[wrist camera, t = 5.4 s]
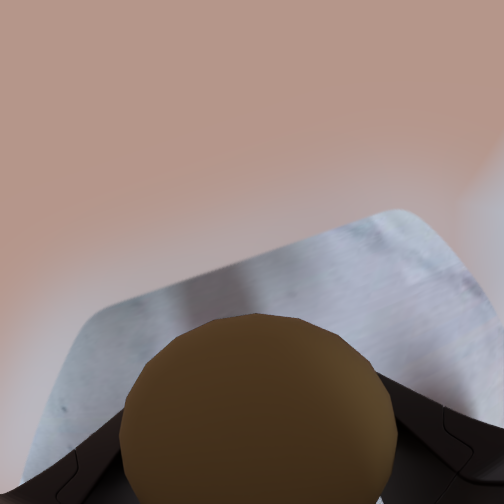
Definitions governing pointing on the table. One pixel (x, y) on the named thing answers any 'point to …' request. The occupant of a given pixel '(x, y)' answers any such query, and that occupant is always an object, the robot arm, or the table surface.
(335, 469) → the cork
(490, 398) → the table surface
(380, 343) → the table surface
